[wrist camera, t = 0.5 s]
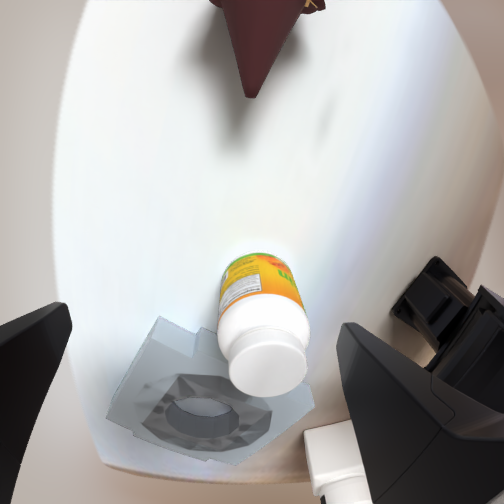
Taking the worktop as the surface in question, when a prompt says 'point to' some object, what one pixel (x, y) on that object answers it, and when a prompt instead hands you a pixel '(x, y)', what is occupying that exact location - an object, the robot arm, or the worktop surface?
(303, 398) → the socket block
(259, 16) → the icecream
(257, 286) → the supplement bottle
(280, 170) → the worktop surface
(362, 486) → the medicine bottle
